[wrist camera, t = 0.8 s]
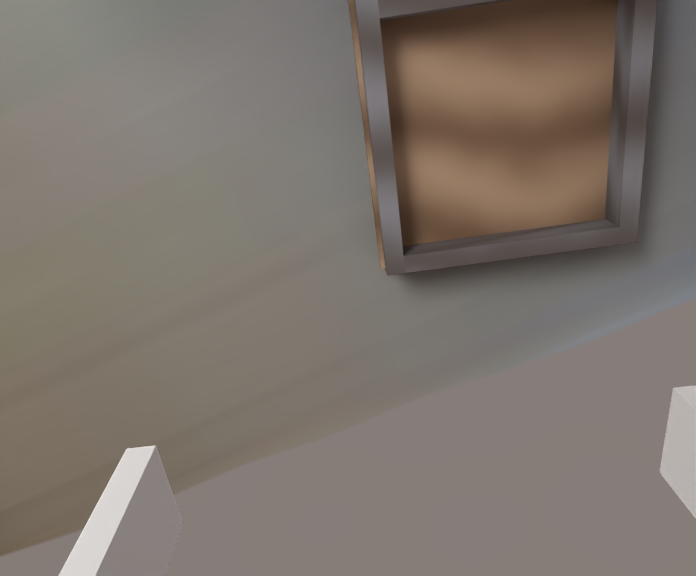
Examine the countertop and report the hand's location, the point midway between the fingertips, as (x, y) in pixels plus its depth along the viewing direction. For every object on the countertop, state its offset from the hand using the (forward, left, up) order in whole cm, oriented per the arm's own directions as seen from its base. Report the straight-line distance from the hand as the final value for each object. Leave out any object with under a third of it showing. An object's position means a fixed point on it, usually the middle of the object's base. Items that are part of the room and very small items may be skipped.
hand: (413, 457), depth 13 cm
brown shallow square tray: (-5, +9, -24) cm, 26 cm away
